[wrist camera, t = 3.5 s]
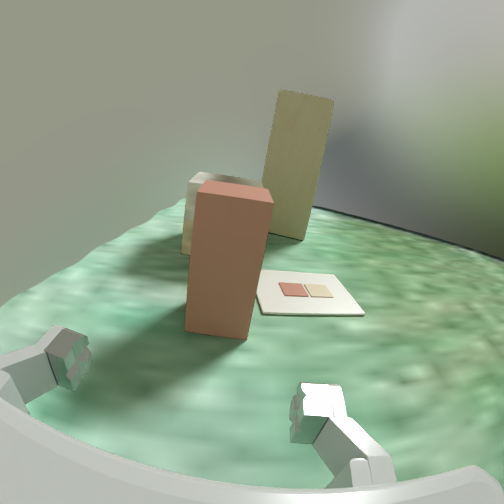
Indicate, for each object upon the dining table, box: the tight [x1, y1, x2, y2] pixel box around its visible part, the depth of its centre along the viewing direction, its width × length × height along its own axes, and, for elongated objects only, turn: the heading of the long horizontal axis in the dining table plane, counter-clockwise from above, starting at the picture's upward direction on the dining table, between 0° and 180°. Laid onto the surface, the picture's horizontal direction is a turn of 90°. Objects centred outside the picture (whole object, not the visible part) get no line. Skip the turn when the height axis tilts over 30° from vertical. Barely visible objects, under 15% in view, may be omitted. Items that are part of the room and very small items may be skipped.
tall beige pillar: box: [262, 90, 334, 240], centre depth 44 cm, size 8×7×21 cm
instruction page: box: [256, 269, 365, 315], centre depth 29 cm, size 10×8×1 cm
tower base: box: [181, 172, 264, 255], centre depth 35 cm, size 8×8×8 cm
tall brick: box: [185, 180, 274, 340], centre depth 21 cm, size 4×4×10 cm
